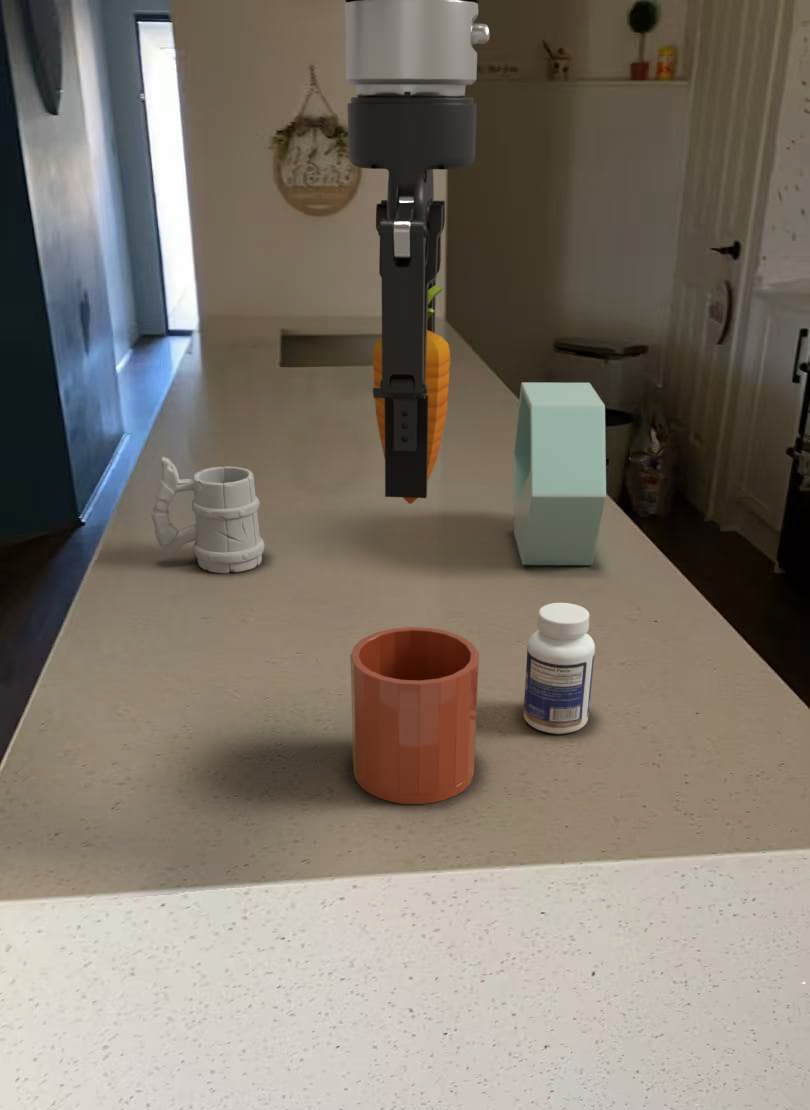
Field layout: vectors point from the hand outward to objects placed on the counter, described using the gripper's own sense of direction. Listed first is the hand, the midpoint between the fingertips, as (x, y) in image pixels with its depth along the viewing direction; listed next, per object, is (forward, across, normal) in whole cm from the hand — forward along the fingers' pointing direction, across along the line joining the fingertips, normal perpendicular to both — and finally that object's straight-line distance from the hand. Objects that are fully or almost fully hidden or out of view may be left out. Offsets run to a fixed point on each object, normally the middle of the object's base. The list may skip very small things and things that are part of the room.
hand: (409, 481), depth 74 cm
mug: (+23, +39, +25) cm, 51 cm away
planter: (+23, +47, -12) cm, 54 cm away
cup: (+22, -2, -1) cm, 22 cm away
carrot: (+2, 0, 0) cm, 2 cm away
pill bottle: (+23, +7, -12) cm, 26 cm away
